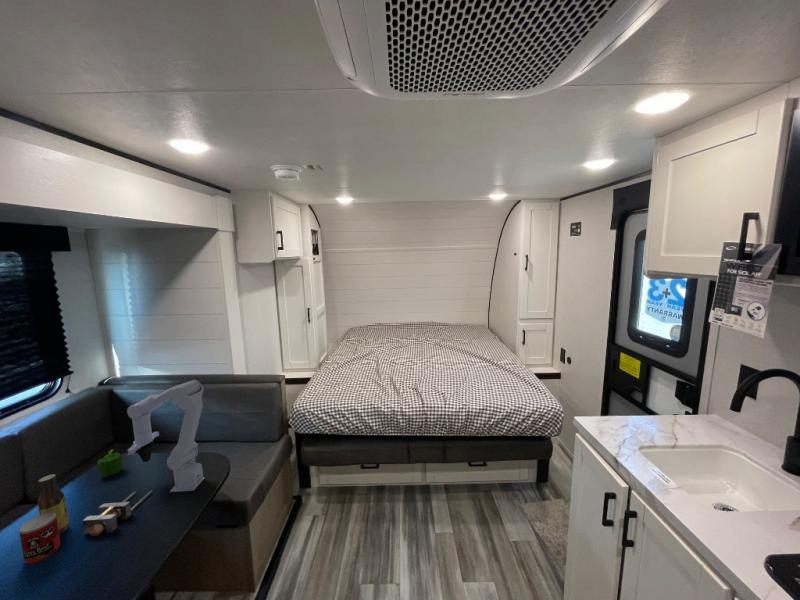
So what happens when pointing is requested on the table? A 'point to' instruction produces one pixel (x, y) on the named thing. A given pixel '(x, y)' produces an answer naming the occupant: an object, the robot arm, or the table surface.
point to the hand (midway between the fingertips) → (146, 461)
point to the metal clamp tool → (111, 519)
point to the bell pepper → (110, 464)
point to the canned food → (39, 538)
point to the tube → (103, 523)
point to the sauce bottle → (53, 501)
